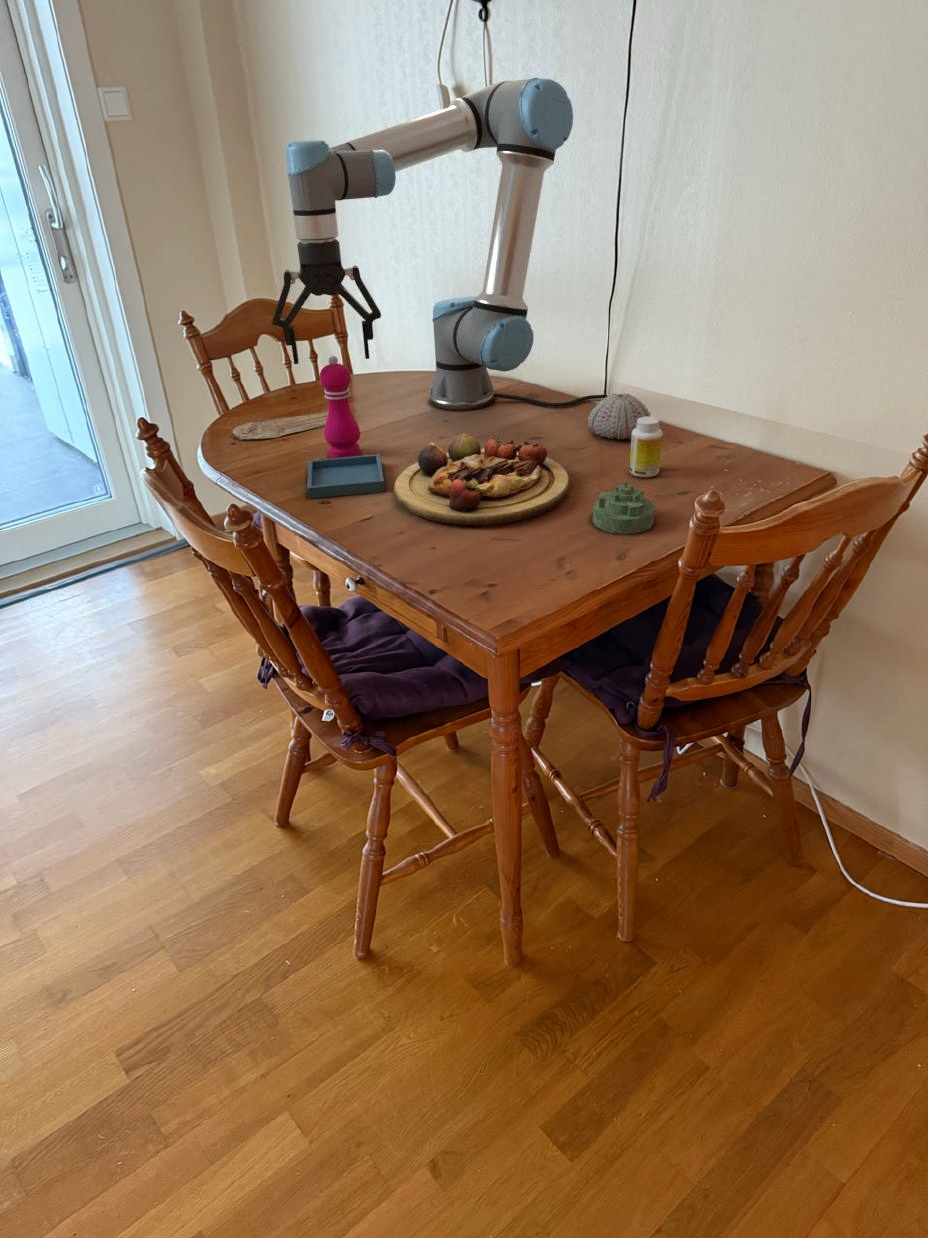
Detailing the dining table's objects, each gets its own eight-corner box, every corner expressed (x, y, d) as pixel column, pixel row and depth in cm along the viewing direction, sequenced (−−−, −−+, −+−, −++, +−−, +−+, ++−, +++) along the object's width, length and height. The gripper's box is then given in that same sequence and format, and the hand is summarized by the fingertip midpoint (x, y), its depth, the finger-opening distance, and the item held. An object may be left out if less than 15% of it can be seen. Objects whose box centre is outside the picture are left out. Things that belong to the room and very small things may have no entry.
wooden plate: (522, 543, 134) (521, 495, 129) (359, 509, 148) (354, 465, 143) (596, 473, 157) (598, 430, 153) (450, 449, 171) (448, 409, 167)
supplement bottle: (665, 474, 155) (670, 421, 150) (640, 480, 153) (645, 426, 148) (647, 465, 159) (651, 412, 154) (623, 471, 157) (626, 418, 152)
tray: (380, 463, 166) (379, 453, 165) (385, 491, 154) (383, 480, 153) (309, 470, 165) (308, 460, 163) (308, 498, 153) (307, 487, 152)
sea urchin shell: (598, 419, 183) (599, 383, 178) (659, 426, 177) (662, 388, 173) (578, 439, 172) (579, 401, 168) (643, 447, 167) (646, 408, 163)
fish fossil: (332, 408, 197) (332, 403, 197) (352, 422, 190) (352, 417, 190) (227, 430, 185) (227, 425, 185) (244, 446, 178) (244, 441, 178)
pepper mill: (368, 450, 172) (358, 352, 162) (350, 462, 167) (338, 362, 156) (339, 446, 175) (326, 349, 165) (320, 458, 170) (306, 359, 159)
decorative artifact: (599, 505, 145) (586, 530, 137) (601, 467, 141) (588, 490, 133) (658, 511, 142) (647, 537, 134) (661, 472, 138) (651, 496, 130)
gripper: (386, 233, 154) (395, 350, 165) (248, 240, 152) (267, 359, 163) (388, 238, 148) (397, 359, 159) (245, 246, 145) (265, 369, 156)
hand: (332, 359), depth 161 cm, fingers open, 13 cm apart
